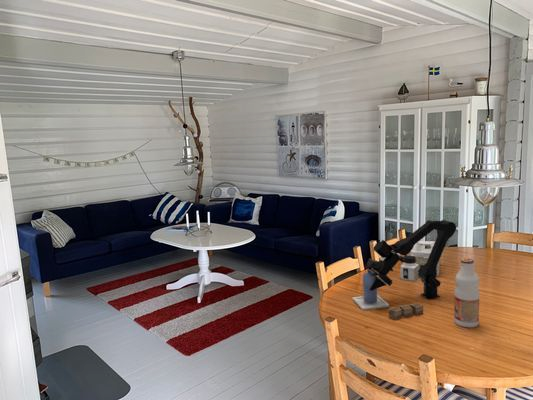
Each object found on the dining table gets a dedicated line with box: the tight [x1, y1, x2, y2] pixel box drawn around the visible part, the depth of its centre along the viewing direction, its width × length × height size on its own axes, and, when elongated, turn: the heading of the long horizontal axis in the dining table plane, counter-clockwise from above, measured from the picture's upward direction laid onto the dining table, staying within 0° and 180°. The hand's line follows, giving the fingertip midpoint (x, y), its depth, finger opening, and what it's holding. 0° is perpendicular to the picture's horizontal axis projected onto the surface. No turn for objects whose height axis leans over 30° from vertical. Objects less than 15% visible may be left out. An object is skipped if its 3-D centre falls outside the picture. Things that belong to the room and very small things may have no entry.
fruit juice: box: [453, 257, 480, 329], centre depth 171 cm, size 9×9×28 cm
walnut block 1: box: [388, 306, 403, 321], centre depth 182 cm, size 4×4×4 cm
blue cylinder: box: [362, 272, 378, 303], centre depth 197 cm, size 6×6×13 cm
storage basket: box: [410, 240, 441, 277], centre depth 240 cm, size 24×16×15 cm
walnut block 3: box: [409, 302, 424, 317], centre depth 184 cm, size 4×4×4 cm
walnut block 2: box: [399, 304, 413, 319], centre depth 183 cm, size 4×4×4 cm
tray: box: [352, 294, 390, 311], centre depth 198 cm, size 13×13×1 cm
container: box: [400, 254, 419, 282], centre depth 228 cm, size 8×8×13 cm
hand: (367, 287), depth 197 cm, fingers closed on blue cylinder, 6 cm apart
